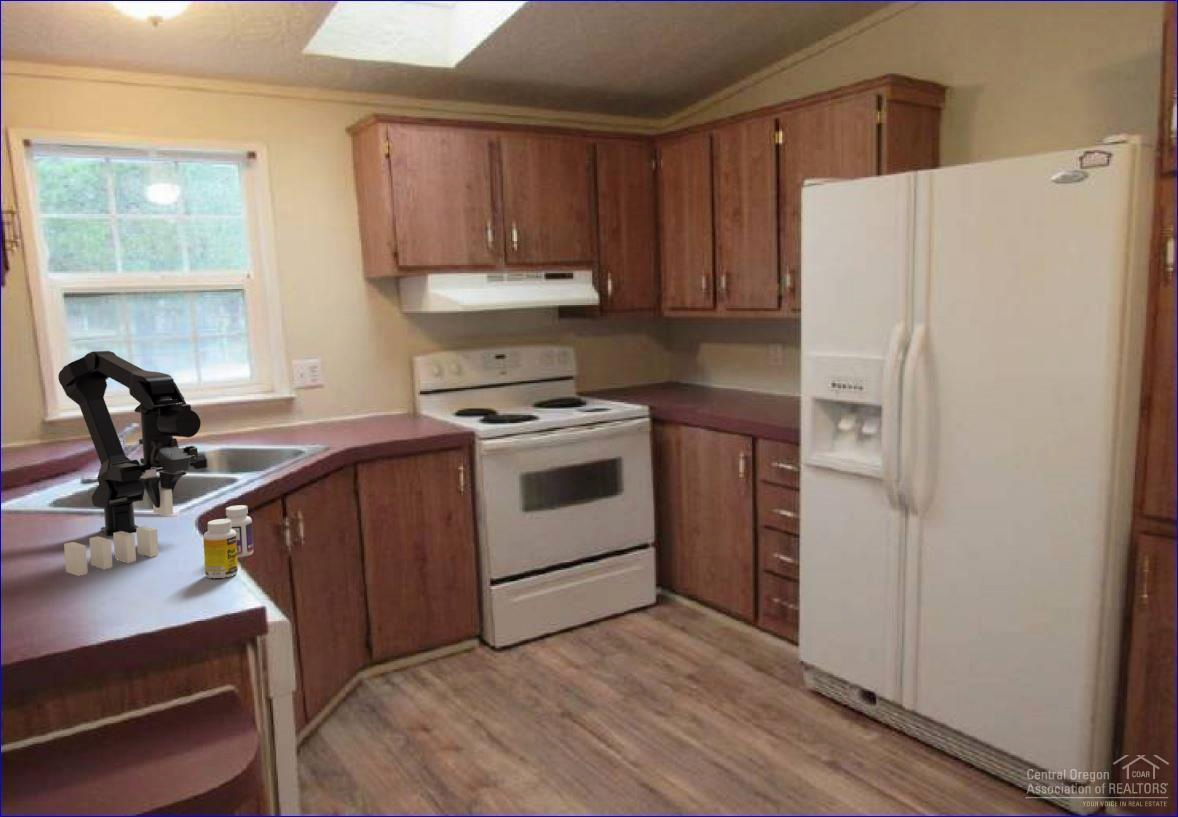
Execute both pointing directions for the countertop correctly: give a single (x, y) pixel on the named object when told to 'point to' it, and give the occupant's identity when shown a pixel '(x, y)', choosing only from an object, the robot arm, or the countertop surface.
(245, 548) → the pill bottle
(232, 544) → the supplement bottle
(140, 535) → the domino
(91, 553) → the domino
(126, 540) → the domino
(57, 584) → the countertop surface
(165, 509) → the domino
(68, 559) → the domino
